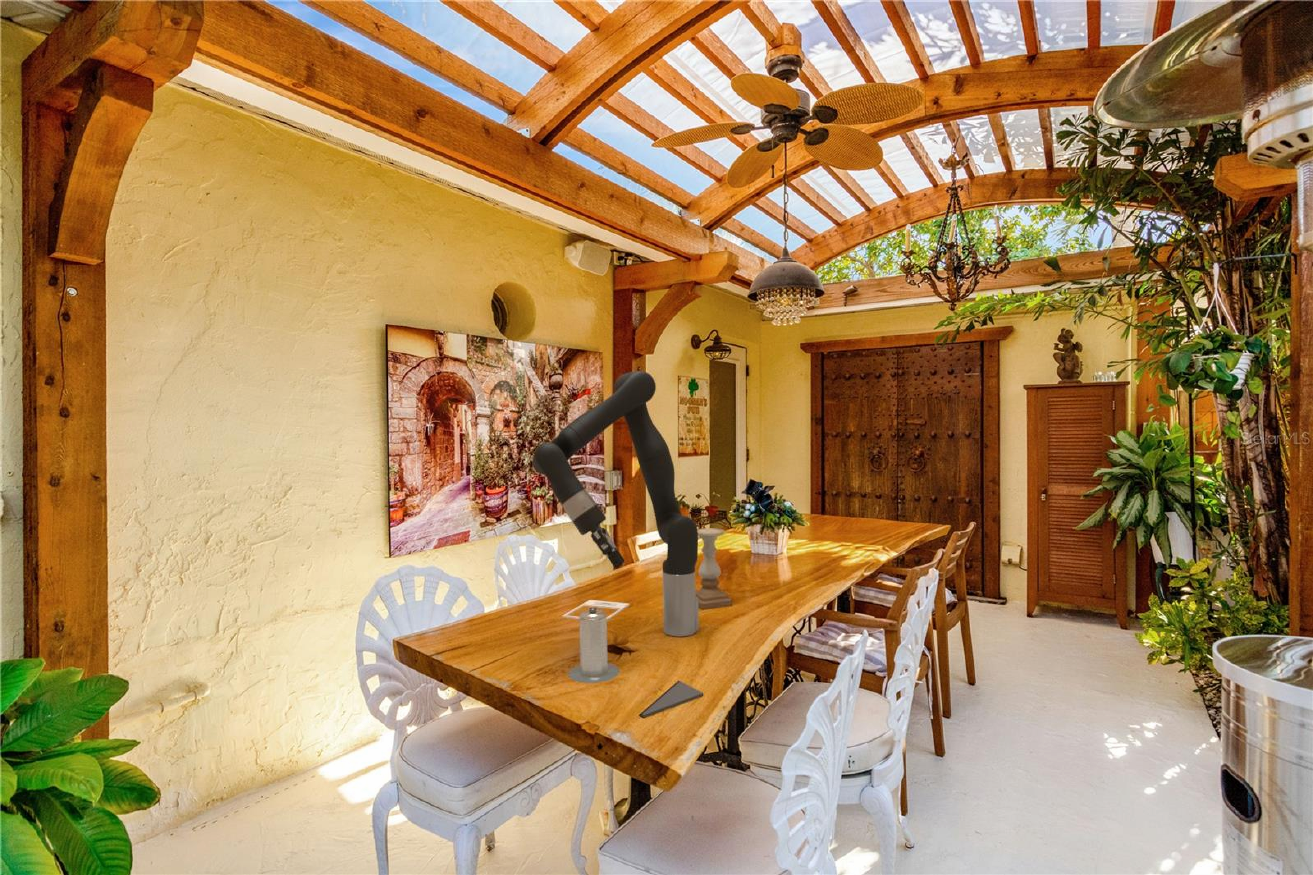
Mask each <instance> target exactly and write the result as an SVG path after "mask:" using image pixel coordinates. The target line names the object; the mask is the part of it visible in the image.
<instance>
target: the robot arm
mask: <svg viewBox="0 0 1313 875" xmlns="http://www.w3.org/2000/svg"><path fill="white" fill-rule="evenodd" d="M656 388H657V386H656V381H655V379H654V377H653V376H652V375H651V374H650V373H648V372H647V371H644V370H637V371H636V370H635V371H634V370H633V371H630V372H627V373H624V374H621V375H620V376H618V378H617V379H616V380H615V383H614V392H613V394H612V395H610V396H609V397H607V398H606V399H605V400H603V401H602V402H600V403H598V404H596V406H594V407H592V408H590V409H588V410H587V411H585V412H584V413H582V414H581V415H579V416H578V417H577V418H575V419H574V420H573V421H571V422H569V424H567V425H566V426H565V427H564V428H563V429H561V431H560V432H559V433H558V434H557V436H556V437H555V438H553V439H552V440H551V441H550V442H549V441H547V442H546V441H545V442H543V443H542V442H541V443H540V444H539V445H538V446H537V447H536V449H535V450H534V453H533V456H532V466H533V469H534V470H535V472H537V473H538V474H540V475H542V476H543V475H545V476H546V478H547V480H548V481H549V483H550V486H551V491H552V492H553V494H554V496H555V497H556V498H557V500H558V501H559V503H560V504H561V505H562V508H563V509H564V511H565V513H566V515H567V516H568V518H569V519H570V520H571V522H572V524H573V525H574V526H575V527H576V529H577V531H578V532H579V534H580V535H581V536H585V535H586V534H588V533H589V532H590V533H591V534H590V537H591V539H592V542H594V544H595V545H596V546H597V549H599V551H600V552H601V553H602V554H603V555H604V556H605V557H606V558H608V561H610V563H611V564H612V566H613V567H614V569H615V570H618V569H619V568H621V567H622V566H623V564H624V562H625V559H624V557H623V556H622V554H621V553H620V551H619V550H618V548H617V544H616V543H615V541H614V539H613V537H611V535H610V533H609V531H608V529H606V528H604V527H602V526H601V524H602V523H604V521H606V520H607V517H606V515H605V513H604V512H603V511H602V509H601V508H600V506H599V505H598V504H597V502H596V501H595V500H594V498H593V497H592V495H591V494H590V493H589V492H588V491H587V489H586V488H585V487H584V484H582V482H581V481H580V479H579V478H578V477H577V476H576V474H575V472H574V471H573V468H572V466H571V464H570V462H569V460H570V459H571V458H572V457H573V456H574V455H575V454H577V453H578V452H579V451H580V450H582V449H583V448H585V447H586V446H587V445H588V444H590V442H592V441H593V440H594V439H595V438H597V437H598V436H599V435H600V434H602V433H603V432H604V431H605V430H606V429H608V428H609V427H610V426H611V425H613V424H614V423H615V422H617V421H618V420H619V419H621V418H622V417H624V418H623V419H625V423H626V425H627V428H628V431H629V434H630V438H631V442H632V444H633V445H632V446H633V449H634V450H635V455H636V458H637V462H638V465H639V468H640V472H641V474H642V477H643V480H644V483H645V486H646V490H647V492H648V496H649V498H650V500H651V504H652V508H653V513H654V517H655V518H654V519H655V523H656V527H657V528H656V529H657V533H658V535H659V537H660V539H661V541H662V542H663V543H665V544H667V555H666V559H665V560H663V562H662V599H663V600H662V604H663V605H662V606H663V607H662V608H663V632H664V634H666V635H668V636H671V637H687V636H692V635H694V634H696V633H697V632H698V631H700V624H699V623H700V622H699V620H700V616H699V609H700V608H699V607H698V597H696V593H695V591H696V565H697V562H698V556H699V555H698V554H699V553H698V552H699V550H698V549H699V536H698V531H697V529H698V526H697V524H696V522H695V521H694V520H693V519H692V518H690V517H689V516H686V515H683V514H682V512H681V510H680V507H679V504H678V501H677V498H676V493H675V465H674V462H673V459H672V458H673V457H672V455H671V452H670V449H669V446H668V444H667V442H666V440H665V439H664V437H663V436H662V434H661V433H660V431H659V430H658V429H657V427H656V426H655V424H654V422H653V420H652V419H651V416H650V413H649V410H648V407H647V406H648V405H647V403H648V402H649V401H651V399H653V397H654V395H655V393H656Z"/></svg>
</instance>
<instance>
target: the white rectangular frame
mask: <svg viewBox="0 0 1313 875" xmlns="http://www.w3.org/2000/svg"><path fill="white" fill-rule="evenodd" d="M630 605H631V604H630V603H625V602H618V601H617V602H615V601H606V600H595V599H594V600H593V599H588V600H587V601H585V602H584V603H582V604H581V605H579V606H577V607H575V608H574V609H572V610H570V611H569V612H567V613H565V614H563V615H562V618H566V619H574V620H575V619H576V620H579V616H575V615H571V614H573V613H575V612H576V611H578V610H580V609H581V608H583V607H590V608H598V609H599V608H600V609H611V610H616V611H614V612H613V613H612V614H610V615H609V616H607V621H609V620H611V619H612V618H613V617H615V616H616V615H618V614H619V613H621V612H622V611H623V610H625V609H626V608H627V607H629V606H630Z"/></svg>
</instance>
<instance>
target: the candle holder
mask: <svg viewBox="0 0 1313 875" xmlns="http://www.w3.org/2000/svg"><path fill="white" fill-rule="evenodd" d="M697 531H698V537H700V538H701V540H702V542H703V546H702V548H701V550H700V551H701V552H702V555H703V556H704V557H703V560H702V562H701V564H700V565H699V568H698V575H699V576H700V577H701V580H700V585H701V587H700V588H699V589H695V593H696V597H698V607H699V609H700V610H709V609H718V608H723V607H724V608H725V607H731V606H732V605H733V600H732V599H731V598H730V595H729V594H728V593H726V592H725V591H724V590H722V589H721V588H719V584H720V580H719V579H718V578H719V576H721V572H722V571H721V570H722V569H721V567H720V565H719V563H718V562H717V560H716V558H715V555H716V552H717V551H718V548H717V547H716V546H715V545H716V544H715V542H716V540H717V539H718V537H720V536H724V535H725V530H724V529H721V528H712V527H711V528H710V527H709V528H707V527H706V528H705V527H704V528H697ZM717 553H718V552H717Z"/></svg>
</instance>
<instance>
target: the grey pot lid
mask: <svg viewBox="0 0 1313 875" xmlns="http://www.w3.org/2000/svg"><path fill="white" fill-rule="evenodd" d="M607 663H608V672H607V673H606V674H604V675H603V676H600V677H593V678H590V677H586V676H582V674H581V672H580V664H578V665H576V666H574V667H572V668H571V669H569V671H568V674H567V675H568V678H570V679H571V680H573V681H575V682H579V683H583V684H597V683H598V684H599V683H603V682H607V681H611V680H612V679H614V678H616V677H617V676H619V674H620V673H621V672H620V668H619V667H618V666H617V665H615V664H613V663H611V662H610V663H609V662H607Z"/></svg>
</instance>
